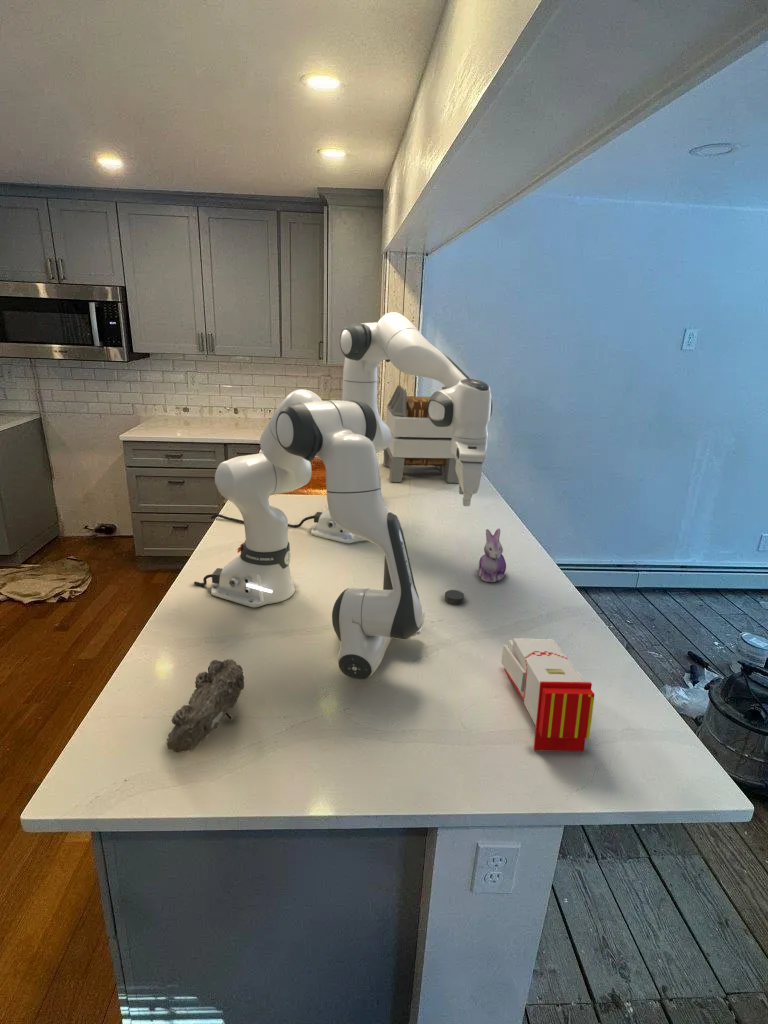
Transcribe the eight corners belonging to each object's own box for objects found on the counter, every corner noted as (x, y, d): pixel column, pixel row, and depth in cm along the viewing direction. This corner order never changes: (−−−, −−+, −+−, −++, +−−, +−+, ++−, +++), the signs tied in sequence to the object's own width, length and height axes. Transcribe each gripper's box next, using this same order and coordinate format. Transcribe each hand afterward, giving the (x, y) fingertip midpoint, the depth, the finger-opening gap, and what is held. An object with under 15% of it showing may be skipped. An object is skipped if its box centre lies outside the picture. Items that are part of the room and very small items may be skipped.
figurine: (489, 586, 164) (495, 538, 159) (468, 571, 173) (473, 526, 168) (514, 580, 169) (521, 533, 163) (493, 566, 177) (498, 521, 172)
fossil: (192, 660, 117) (244, 628, 112) (224, 691, 120) (276, 661, 115) (142, 746, 98) (202, 712, 93) (182, 779, 101) (242, 748, 96)
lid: (467, 601, 156) (468, 595, 155) (454, 606, 152) (455, 600, 152) (453, 593, 159) (454, 588, 159) (440, 599, 156) (441, 593, 155)
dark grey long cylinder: (378, 610, 149) (381, 547, 143) (393, 606, 151) (396, 544, 145) (388, 618, 145) (391, 554, 139) (403, 614, 148) (407, 550, 142)
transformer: (382, 463, 289) (386, 382, 275) (445, 464, 293) (451, 384, 279) (390, 482, 257) (394, 392, 243) (460, 483, 261) (468, 394, 247)
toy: (549, 621, 128) (604, 690, 99) (544, 676, 131) (595, 758, 101) (496, 620, 128) (535, 688, 98) (492, 675, 130) (528, 757, 101)
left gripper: (420, 624, 126) (430, 595, 139) (332, 609, 130) (350, 583, 143) (418, 648, 128) (428, 618, 141) (332, 633, 132) (350, 605, 145)
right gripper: (452, 437, 151) (448, 486, 156) (460, 456, 132) (455, 512, 136) (476, 438, 151) (471, 487, 156) (487, 457, 132) (481, 513, 136)
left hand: (388, 600), depth 142 cm, fingers open, 8 cm apart
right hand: (463, 499), depth 146 cm, fingers open, 8 cm apart
